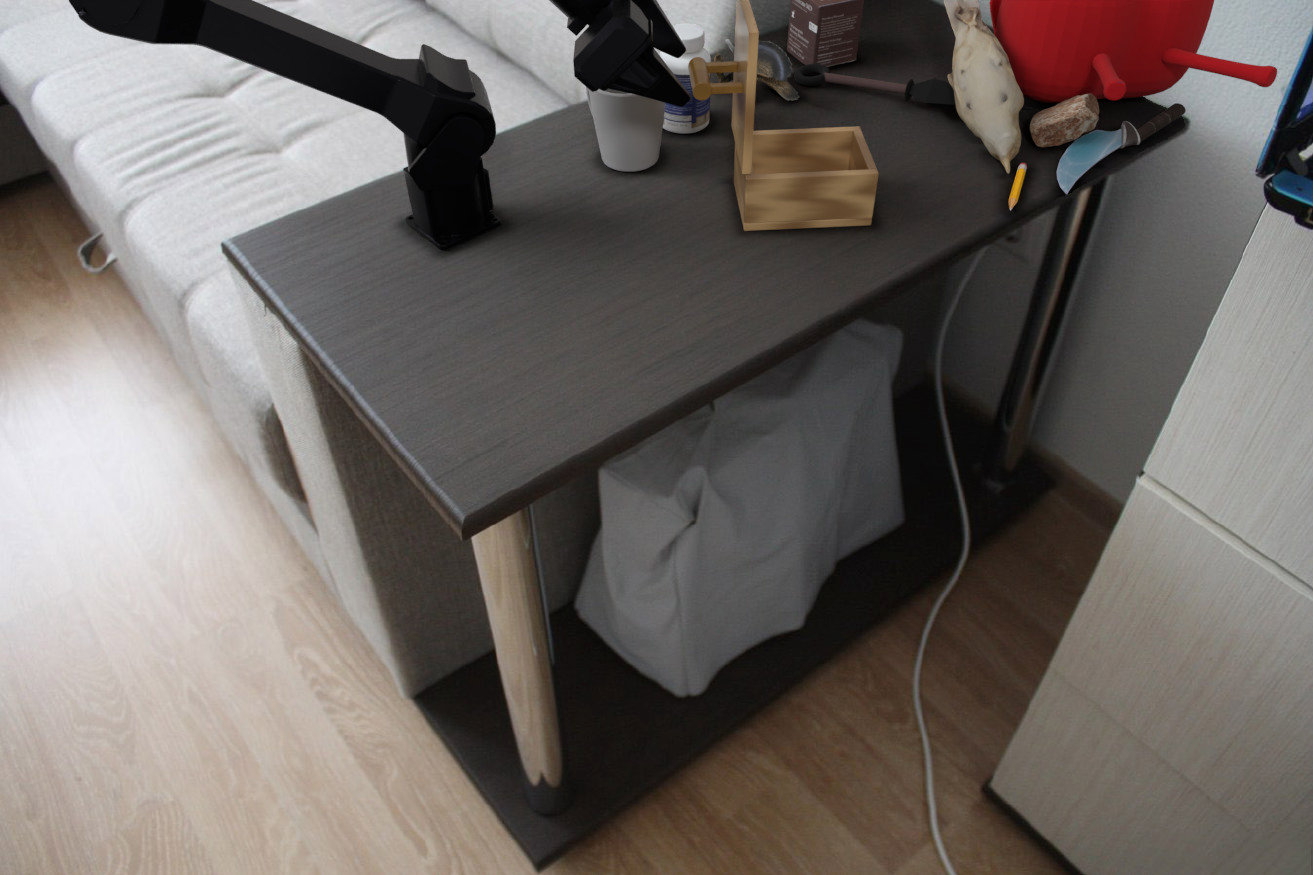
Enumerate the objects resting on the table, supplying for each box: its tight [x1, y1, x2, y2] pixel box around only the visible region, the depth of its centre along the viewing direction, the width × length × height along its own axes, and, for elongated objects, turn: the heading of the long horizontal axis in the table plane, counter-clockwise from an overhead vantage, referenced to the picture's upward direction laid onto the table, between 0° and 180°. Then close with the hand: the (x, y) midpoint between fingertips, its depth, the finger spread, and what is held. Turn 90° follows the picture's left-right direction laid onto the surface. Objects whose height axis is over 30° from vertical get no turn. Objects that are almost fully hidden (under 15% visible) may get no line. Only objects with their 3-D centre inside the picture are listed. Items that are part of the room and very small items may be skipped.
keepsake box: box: [733, 125, 880, 232], centre depth 94 cm, size 12×9×5 cm
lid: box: [688, 0, 760, 174], centre depth 87 cm, size 12×9×5 cm
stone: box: [1029, 93, 1100, 148], centre depth 102 cm, size 7×6×5 cm
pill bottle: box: [658, 22, 712, 135], centre depth 104 cm, size 5×5×10 cm
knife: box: [1056, 102, 1186, 195], centre depth 102 cm, size 22×2×5 cm
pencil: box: [1008, 162, 1028, 211], centre depth 97 cm, size 1×9×1 cm
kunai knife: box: [793, 64, 1043, 111], centre depth 108 cm, size 4×27×3 cm, turn 57°
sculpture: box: [943, 0, 1025, 175], centre depth 102 cm, size 6×25×5 cm
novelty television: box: [989, 0, 1278, 105], centre depth 105 cm, size 21×13×30 cm
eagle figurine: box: [713, 38, 800, 102], centre depth 110 cm, size 8×7×9 cm
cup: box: [585, 86, 665, 173], centre depth 100 cm, size 8×10×8 cm
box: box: [786, 0, 865, 68], centre depth 116 cm, size 6×6×7 cm
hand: (684, 77), depth 87 cm, fingers open, 9 cm apart
